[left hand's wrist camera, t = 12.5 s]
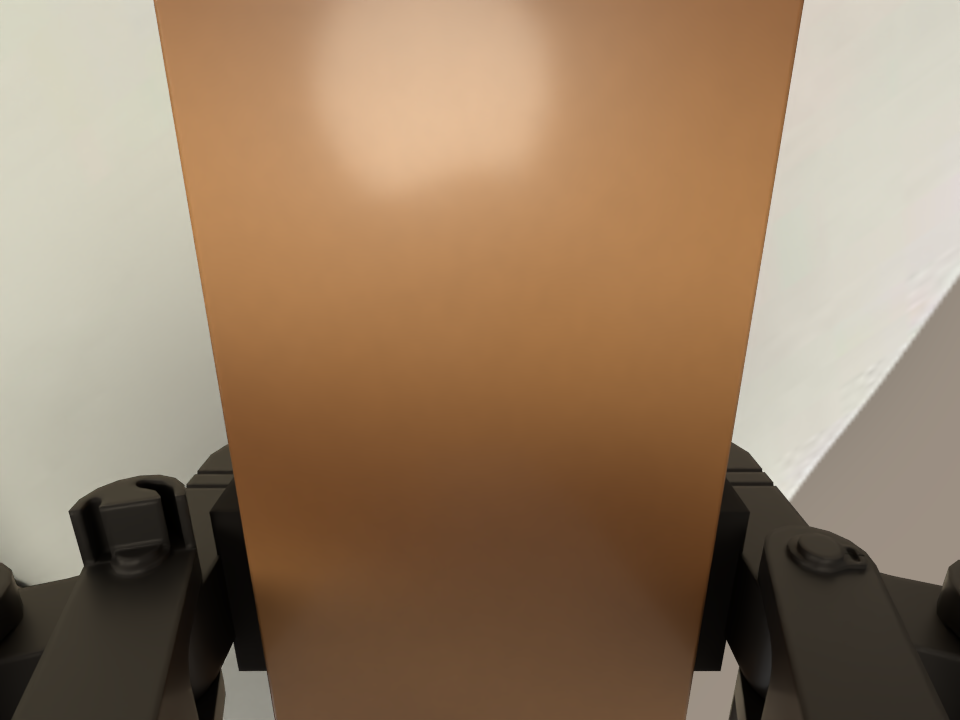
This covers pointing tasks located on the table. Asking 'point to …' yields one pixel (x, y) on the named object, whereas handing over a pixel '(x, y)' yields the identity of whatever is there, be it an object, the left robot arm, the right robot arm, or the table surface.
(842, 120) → the table surface
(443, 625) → the bar
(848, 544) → the left robot arm
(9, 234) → the table surface
